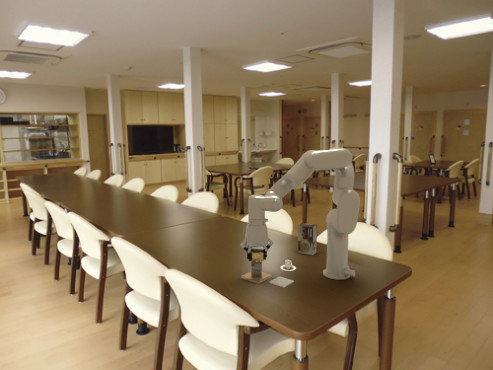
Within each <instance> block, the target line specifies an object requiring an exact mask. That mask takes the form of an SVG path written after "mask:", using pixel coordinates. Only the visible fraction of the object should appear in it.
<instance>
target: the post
mask: <svg viewBox="0 0 493 370" xmlns="http://www.w3.org/2000/svg"><path fill="white" fill-rule="evenodd" d="M240 278H241V279H243V280H245V281H248V282H251V283H254V284H256V285H259V284H261V283H264V282H265V281H267V280H269V279H271V278H272V274H270V273H267V272H263V261H262V262H252V261H250V271H249V272H246V273H245V274H242V275H241V277H240Z"/></svg>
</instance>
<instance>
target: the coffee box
mask: <svg viewBox="0 0 493 370" xmlns="http://www.w3.org/2000/svg"><path fill="white" fill-rule="evenodd" d="M297 230H298V233H297V234H298V235H297V242H298V243H297V254H303V255H308V256H314V255H315V254H317V247H318V246H317V242H318V241H317V240H318V239H317V238H318V237H317V236H318V224H315V223H308V222H307V223H305V222H301V223H300V224H299V225H297Z"/></svg>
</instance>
